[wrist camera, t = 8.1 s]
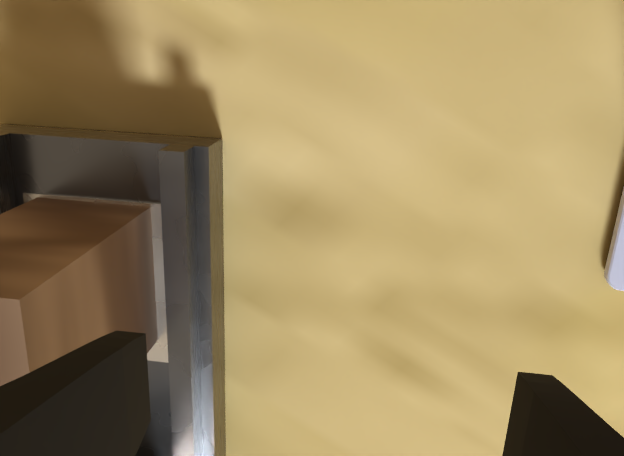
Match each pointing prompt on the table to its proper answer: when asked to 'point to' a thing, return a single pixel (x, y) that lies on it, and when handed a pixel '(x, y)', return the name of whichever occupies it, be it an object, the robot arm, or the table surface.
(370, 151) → the table surface
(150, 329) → the walnut finger
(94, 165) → the rail
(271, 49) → the table surface
